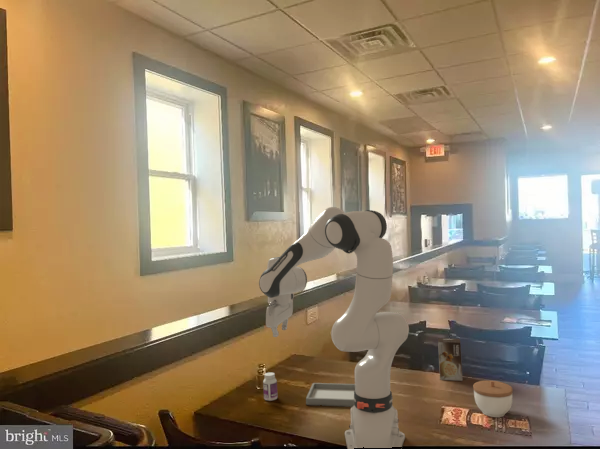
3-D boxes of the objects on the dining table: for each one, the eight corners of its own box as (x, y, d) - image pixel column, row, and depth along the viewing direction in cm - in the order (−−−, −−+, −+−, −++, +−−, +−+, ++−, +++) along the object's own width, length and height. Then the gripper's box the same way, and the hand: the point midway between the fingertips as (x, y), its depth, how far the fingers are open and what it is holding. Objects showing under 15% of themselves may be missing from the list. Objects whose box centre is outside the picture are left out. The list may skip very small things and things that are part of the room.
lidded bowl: (466, 409, 164) (465, 378, 164) (494, 402, 168) (493, 372, 168) (492, 423, 152) (491, 390, 152) (522, 416, 156) (520, 384, 156)
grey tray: (362, 407, 169) (362, 400, 169) (306, 404, 173) (305, 398, 173) (364, 390, 185) (364, 384, 185) (313, 388, 189) (312, 382, 189)
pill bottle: (277, 395, 184) (276, 371, 184) (277, 400, 178) (276, 375, 178) (264, 396, 184) (263, 371, 183) (263, 401, 178) (262, 376, 178)
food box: (461, 376, 197) (460, 338, 196) (462, 381, 191) (461, 342, 190) (439, 374, 199) (438, 337, 199) (439, 379, 193) (438, 341, 193)
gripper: (276, 304, 169) (278, 341, 170) (295, 293, 188) (296, 326, 189) (260, 303, 171) (262, 340, 172) (280, 292, 190) (281, 325, 191)
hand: (280, 333), depth 181 cm, fingers open, 8 cm apart
